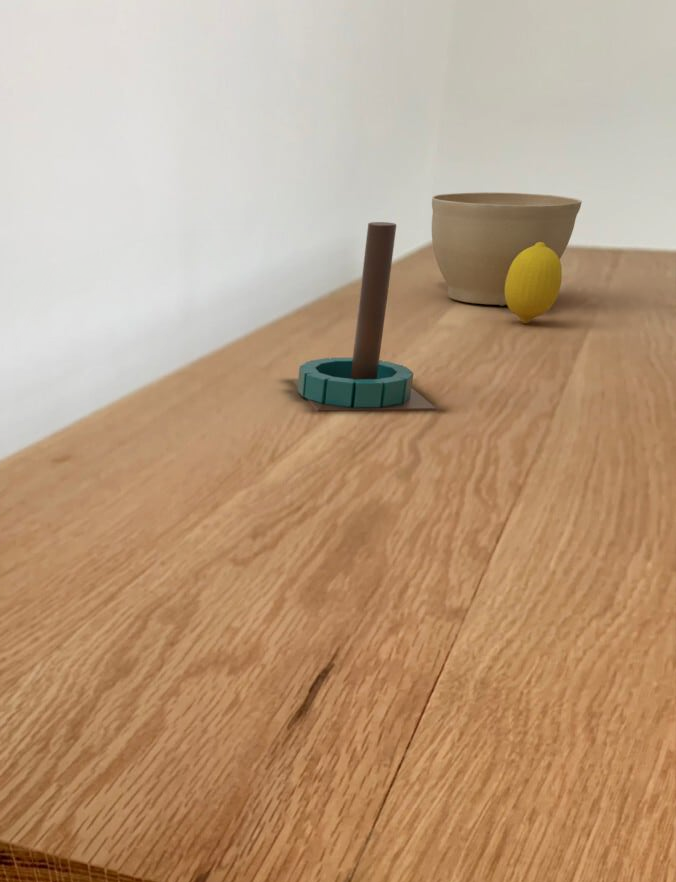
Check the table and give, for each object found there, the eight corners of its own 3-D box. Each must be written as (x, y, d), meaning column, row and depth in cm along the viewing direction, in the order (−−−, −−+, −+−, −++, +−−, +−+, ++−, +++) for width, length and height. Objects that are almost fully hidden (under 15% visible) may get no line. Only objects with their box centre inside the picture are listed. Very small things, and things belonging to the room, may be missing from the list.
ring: (391, 380, 89) (394, 357, 89) (422, 407, 82) (426, 382, 81) (289, 380, 89) (291, 357, 88) (311, 408, 82) (313, 383, 81)
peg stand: (399, 397, 91) (424, 216, 84) (433, 428, 83) (464, 231, 76) (291, 398, 90) (307, 216, 83) (315, 429, 82) (335, 231, 75)
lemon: (552, 330, 115) (569, 246, 111) (497, 326, 117) (512, 243, 112) (552, 320, 120) (568, 240, 115) (499, 317, 121) (513, 237, 117)
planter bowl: (537, 289, 137) (556, 191, 131) (579, 314, 123) (602, 206, 117) (406, 287, 137) (420, 189, 132) (434, 311, 123) (450, 203, 118)
